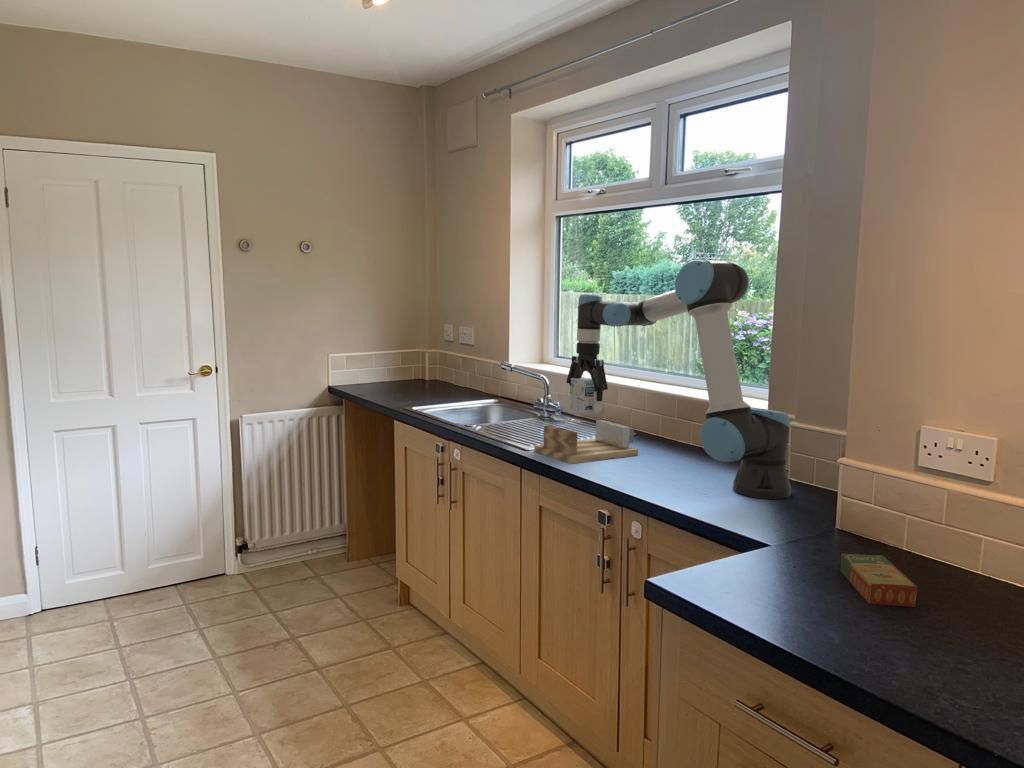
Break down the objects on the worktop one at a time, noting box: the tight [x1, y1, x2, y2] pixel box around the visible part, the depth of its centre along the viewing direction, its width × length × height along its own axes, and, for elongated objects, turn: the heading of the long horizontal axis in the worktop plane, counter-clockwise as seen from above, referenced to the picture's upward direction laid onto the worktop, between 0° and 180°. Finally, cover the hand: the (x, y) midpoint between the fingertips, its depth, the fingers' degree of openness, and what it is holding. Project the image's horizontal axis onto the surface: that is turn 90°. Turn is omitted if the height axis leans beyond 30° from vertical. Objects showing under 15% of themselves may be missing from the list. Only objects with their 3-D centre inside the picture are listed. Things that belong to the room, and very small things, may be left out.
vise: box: [533, 424, 639, 465], centre depth 247 cm, size 20×28×9 cm
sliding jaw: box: [594, 419, 635, 448], centre depth 255 cm, size 14×10×7 cm
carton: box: [839, 553, 918, 608], centre depth 140 cm, size 8×16×4 cm, turn 174°
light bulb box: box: [569, 377, 603, 415], centre depth 245 cm, size 11×7×11 cm, turn 22°
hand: (585, 408), depth 245 cm, fingers closed on light bulb box, 11 cm apart
